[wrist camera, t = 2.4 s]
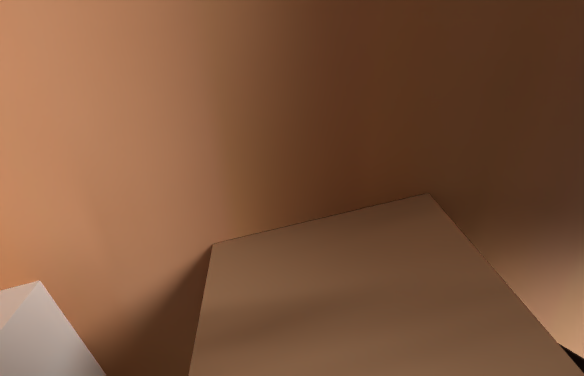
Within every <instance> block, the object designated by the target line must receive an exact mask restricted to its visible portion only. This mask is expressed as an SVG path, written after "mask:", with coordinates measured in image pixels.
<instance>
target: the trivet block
mask: <svg viewBox="0 0 584 376" xmlns="http://www.w3.org/2000/svg"><path fill="white" fill-rule="evenodd" d="M0 376H107V375H106V374H105V372H104V371H103V370H102V368H101V367H100V365H99V364H98V362H97V361H96V360H95V358H94V357H93V355H92V354H91V352H90V351H89V350H88V348H87V347H86V345H85V344H84V343H83V341H82V340H81V338H80V337H79V335H78V334H77V333H76V331H75V330H74V328H73V327H72V325H71V324H70V323H69V321H68V320H67V318H66V317H65V315H64V314H63V313H62V311H61V310H60V308H59V307H58V306H57V304H56V303H55V301H54V300H53V298H52V297H51V296H50V294H49V293H48V291H47V290H46V288H45V287H44V286H43V284H42V283H41V281H40V280H39V281H36V282H32V283H28V284H24V285H20V286H16V287H12V288H8V289H4V290H1V291H0Z"/></svg>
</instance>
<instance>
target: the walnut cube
mask: <svg viewBox="0 0 584 376" xmlns="http://www.w3.org/2000/svg"><path fill="white" fill-rule="evenodd" d="M188 376H584V373H583V372H582V371H581V370H580V368H579V367H578V366H577V365H576V364H575V363H574V361H573V360H572V359H571V358H570V357H569V356H568V355H567V353H566V352H565V351H564V350H563V349H562V348H561V346H560V345H559V344H558V343H557V342H556V341H555V339H554V338H553V337H552V336H551V335H550V334H549V332H548V331H547V330H546V329H545V328H544V327H543V325H542V324H541V323H540V322H539V321H538V320H537V318H536V317H535V316H534V315H533V314H532V313H531V312H530V310H529V309H528V308H527V307H526V306H525V305H524V303H523V302H522V301H521V300H520V299H519V298H518V296H517V295H516V294H515V293H514V292H513V291H512V289H511V288H510V287H509V286H508V285H507V284H506V282H505V281H504V280H503V279H502V278H501V277H500V276H499V274H498V273H497V272H496V271H495V270H494V269H493V267H492V266H491V265H490V264H489V263H488V262H487V260H486V259H485V258H484V257H483V256H482V255H481V253H480V252H479V251H478V250H477V249H476V248H475V246H474V245H473V244H472V243H471V242H470V241H469V239H468V238H467V237H466V236H465V235H464V234H463V233H462V231H461V230H460V229H459V228H458V227H457V226H456V224H455V223H454V222H453V221H452V220H451V219H450V217H449V216H448V215H447V214H446V213H445V212H444V210H443V209H442V208H441V207H440V206H439V205H438V203H437V202H436V201H435V200H434V199H433V198H432V196H431V195H430V194H429V193H427V194H422V195H418V196H414V197H410V198H405V199H401V200H397V201H393V202H388V203H384V204H380V205H376V206H372V207H367V208H363V209H359V210H355V211H350V212H346V213H342V214H338V215H333V216H329V217H325V218H321V219H316V220H312V221H308V222H304V223H299V224H295V225H291V226H287V227H282V228H278V229H274V230H270V231H265V232H261V233H257V234H253V235H248V236H244V237H240V238H236V239H232V240H227V241H223V242H219V243H215V244H213V247H212V252H211V257H210V263H209V268H208V273H207V279H206V284H205V289H204V295H203V300H202V305H201V311H200V316H199V321H198V327H197V332H196V337H195V343H194V348H193V353H192V359H191V364H190V369H189V375H188Z"/></svg>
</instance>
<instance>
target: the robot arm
mask: <svg viewBox="0 0 584 376" xmlns="http://www.w3.org/2000/svg"><path fill="white" fill-rule="evenodd" d="M558 344H559V343H558ZM559 345H560V344H559ZM560 346H561V348H562V349H563V350H564V351H565V352H566V353H567V355H568V356H569V357H570V358H571V359H572V360H573V361H574V363H575V364H576V365H577V366H578V367H579V368H580V370H581V371H582V372H583V373H584V359H583V358H582V357H580V356H578V355H577V354H575V353H573V352H572V351H570V350H569V349H567V348H565V347H564V346H562V345H560Z"/></svg>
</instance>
